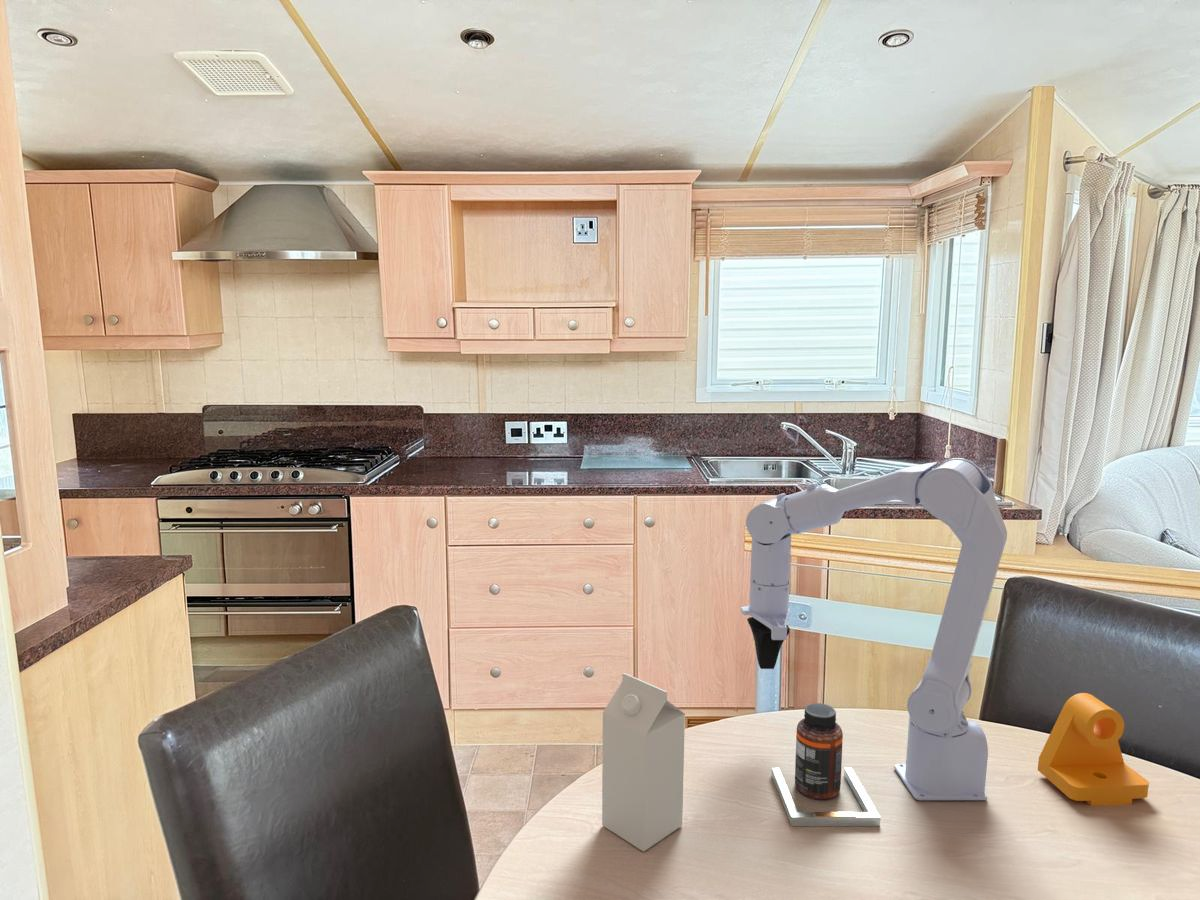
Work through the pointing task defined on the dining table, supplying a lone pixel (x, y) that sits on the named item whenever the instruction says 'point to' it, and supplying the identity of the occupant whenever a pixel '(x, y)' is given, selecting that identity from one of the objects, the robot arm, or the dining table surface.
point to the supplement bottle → (818, 752)
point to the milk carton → (642, 764)
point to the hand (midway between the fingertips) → (766, 667)
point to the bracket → (1090, 755)
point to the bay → (829, 818)
